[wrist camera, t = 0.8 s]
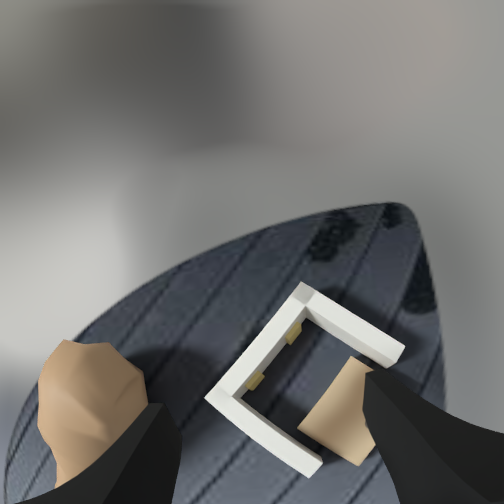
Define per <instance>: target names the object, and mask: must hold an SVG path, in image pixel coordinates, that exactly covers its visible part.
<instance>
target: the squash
mask: <svg viewBox="0 0 504 504" xmlns="http://www.w3.org/2000/svg"><path fill="white" fill-rule="evenodd" d="M38 384H39V411H38V428H39V430H40V432H41V434H42V436H43V439H44V440H45V442H46V443H47V444H48V445H49V446H50V447H51V450H52V452H53V455H54V457H55V459H56V462H57V483H56V484H55V488H57V487H59V486H61V485H62V484H64V483H66V482H67V481H69V480H70V479H72V478H74V477H75V476H77V475H78V474H79V473H81V472H82V471H83V470H85V469H86V468H87V467H89V466H90V465H91V464H92V463H93V462H95V461H96V460H97V459H98V458H99V457H100V456H101V455H102V454H103V453H104V452H105V451H106V450H107V449H108V448H109V447H110V446H111V445H112V444H113V443H114V442H115V441H116V440H117V439H118V438H119V437H120V436H121V435H122V434H123V433H124V432H125V430H126V429H127V428H128V427H129V426H130V425H131V424H132V422H133V421H134V420H135V419H136V418H137V417H138V416H139V414H140V413H141V412H142V411H143V410H144V409H145V407H146V406H147V405H148V399H147V394H146V388H145V381H144V375H143V371H142V370H140V369H139V368H137V367H136V366H135V365H133V364H132V363H130V362H129V361H128V360H126V359H125V358H124V357H123V356H122V355H121V354H120V353H119V352H118V351H117V350H116V349H115V348H114V347H113V346H112V345H111V344H110V343H109V342H107V343H96V344H81V343H76V342H72V341H68V340H63V341H62V342H61V343H60V344H59V346H58V347H57V348H56V349H55V350H54V352H53V353H52V354H51V355H50V357H49V358H48V359H47V360H46V362H45V364H44V367H43V369H42V372H41V375H40V378H39V380H38Z"/></svg>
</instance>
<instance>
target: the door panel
mask: <svg viewBox="0 0 504 504" xmlns="http://www.w3.org/2000/svg"><path fill="white" fill-rule="evenodd" d="M370 371H373V369H371V368H370V367H368V366H366V365H365V364H363V363H361V362H360V361H358V360H357V359H355V358H353V357H352V356H351V357H350V358H349V360H348V361H347V362H346V364H345V365H344V367H343V368H342V370H341V371H340V373H339V374H338V375H337V377H336V378H335V380H334V381H333V382H332V384H331V385H330V386H329V388H328V389H327V391H326V392H325V393H324V394H323V396H322V397H321V398H320V400H319V401H318V402H317V404H316V405H315V406H314V407H313V409H312V410H311V411H310V412H309V414H308V415H307V416H306V417H305V419H304V420H303V421H302V422H301V423H300V425H299V426H298V427H297V429H299V430H300V431H302V432H303V433H305V434H306V435H308V436H309V437H311V438H312V439H314V440H316V441H317V442H319V443H320V444H322V445H323V446H325V447H327V448H328V449H330V450H331V451H333V452H335V453H336V454H338V455H340V456H341V457H343V458H345V459H346V460H348V461H350V462H352V463H353V464H355V465H357V466H359V465H360V464H361V463H362V461H363V460H364V459H365V458H366V456H367V455H368V454H369V453H370V451H371V450H372V449H373V447H374V446H375V445H376V444H375V442H374V440H373V438H372V436H371V434H370V432H369V429H368V426H367V423H366V420H365V417H364V414H363V411H362V407H363V397H364V385H365V373H366V372H370Z"/></svg>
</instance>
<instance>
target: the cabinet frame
mask: <svg viewBox="0 0 504 504" xmlns="http://www.w3.org/2000/svg"><path fill="white" fill-rule="evenodd" d="M305 318H308V319H309V320H311V321H312V322H314V323H315V324H317V325H318V326H320V327H321V328H323V329H324V330H326V331H327V332H329V333H331V334H332V335H334V336H335V337H337V338H338V339H340V340H341V341H343V342H345V343H346V344H348V345H349V346H351V347H352V348H354V349H355V350H357V351H359V352H360V353H362V354H363V355H365V356H366V357H368V358H370V359H371V360H373V361H374V362H376V363H378V364H379V365H381V366H382V367H384V368H388V367H390V366H391V365H393V364H395V363H396V362H397V360H398V359H399V357H400V355H401V353H402V351H403V350H404V348H405V345H403V344H401V343H400V342H398V341H396V340H395V339H393V338H392V337H390V336H388V335H387V334H385V333H384V332H382V331H380V330H379V329H377V328H376V327H374V326H372V325H371V324H369V323H367V322H366V321H364V320H363V319H361V318H359V317H358V316H356V315H355V314H353V313H351V312H350V311H348V310H347V309H345V308H343V307H342V306H340V305H338V304H337V303H335V302H334V301H332V300H330V299H329V298H327V297H326V296H324V295H322V294H321V293H319V292H317V291H316V290H314V289H313V288H311V287H309V286H308V285H306V284H305V283H303V282H300V284H299V285H298V286H297V288H296V289H295V290H294V291H293V293H292V294H291V295H290V296H289V298H288V299H287V300H286V302H285V303H284V304H283V305H282V307H281V308H280V309H279V310H278V312H277V313H276V314H275V315H274V317H273V318H272V319H271V320H270V322H269V323H268V324H267V325H266V326H265V328H264V329H263V330H262V331H261V333H260V334H259V335H258V336H257V337H256V339H255V340H254V341H253V342H252V343H251V345H250V346H249V347H248V348H247V349H246V351H245V352H244V353H243V354H242V355H241V356H240V358H239V359H238V360H237V361H236V362H235V363H234V365H233V366H232V367H231V368H230V369H229V370H228V372H227V373H226V374H225V375H224V376H223V377H222V378H221V380H220V381H219V382H218V383H217V384H216V385H215V386H214V387H213V389H212V390H211V391H210V392H209V393H208V394H207V395H206V396H205V397H204V398H205V399H206V400H207V401H208V402H209V403H210V404H211V405H213V406H214V407H215V408H216V409H217V410H218V411H219V412H221V413H222V414H223V415H224V416H225V417H226V418H228V419H229V420H230V421H231V422H232V423H234V424H235V425H236V426H237V427H239V428H240V429H241V430H242V431H244V432H245V433H246V434H247V435H249V436H250V437H251V438H252V439H254V440H255V441H256V442H258V443H259V444H260V445H262V446H263V447H264V448H266V449H267V450H268V451H270V452H271V453H273V454H274V455H275V456H277V457H278V458H280V459H281V460H282V461H284V462H285V463H287V464H288V465H290V466H291V467H293V468H294V469H296V470H297V471H299V472H300V473H302V474H303V475H305V476H307V477H308V478H310V477H311V476H312V475H313V474H314V472H315V471H316V470H317V469H318V468H319V467H320V466H321V465H322V464H323V461H322V458H321V456H320V455H318V454H316V453H315V452H313V451H312V450H310V449H309V448H307V447H306V446H304V445H303V444H301V443H300V442H298V441H297V440H295V439H294V438H293V437H291V436H290V435H288V434H287V433H285V432H284V431H283V430H281V429H280V428H278V427H277V426H276V425H274V424H273V423H272V422H270V421H269V420H268V419H266V418H265V417H264V416H262V415H261V414H260V413H258V412H257V411H256V410H255V409H253V408H252V407H251V406H249V405H248V404H247V403H246V402H244V401H243V400H242V399H241V397H242V396H243V395H244V394H245V392H246V391H247V390H248V389H250V390H254V389H255V388H256V387H257V386H258V384H259V383H260V382H261V381H262V380H263V379H264V377H265V376H264V375H263V374H262V373H263V371H264V370H265V369H266V368H267V367H268V365H269V364H270V363H271V362H272V361H273V359H274V358H275V357H276V356H277V354H278V353H279V352H280V351H281V349H282V348H283V347H284V346H285V344H286V343H288V344H289V345H291V344H292V343H293V341H294V340H295V339H296V338H297V336H298V335H299V334H300V332H301V331H302V329H301V324H302V322H303V321H304V320H305Z"/></svg>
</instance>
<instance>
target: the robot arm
mask: <svg viewBox="0 0 504 504" xmlns="http://www.w3.org/2000/svg"><path fill="white" fill-rule="evenodd" d="M362 411H363V414H364V417H365V420H366V423H367V426H368V429H369V432H370V434H371V436H372V438H373V440H374V442H375V444H376V446H377V448H378V450H379V453H380V455H381V457H382V459H383V461H384V463H385V465H386V467H387V469H388V471H389V473H390V475H391V478H392V480H393V483H394V485H395V489H396V492H397V495H398V498H399V501H400V504H504V434H503V433H499V432H495V431H492V430H488V429H485V428H482V427H479V426H476V425H473V424H470V423H468V422H466V421H463V420H461V419H459V418H457V417H454V416H452V415H450V414H448V413H447V412H445V411H443V410H441V409H439V408H438V407H436V406H434V405H433V404H431V403H429V402H428V401H426V400H425V399H423V398H422V397H420V396H419V395H417V394H416V393H414V392H413V391H411V390H410V389H409V388H407V387H406V386H404V385H403V384H402V383H400V382H399V381H398V380H396V379H395V378H394V377H392V376H391V375H390V374H388V373H387V372H386V371H384V370H383V369H382V368H380V369H376V370H373V371H370V372H366V373H365V385H364V397H363V407H362ZM181 447H182V435H181V434H180V432H179V430H178V428H177V426H176V425H175V423H174V421H173V419H172V417H171V415H170V413H169V411H168V410H167V408H166V406H165V404H164V403H149V404H148V405H147V406H146V407H145V409H144V410H143V411H142V412H141V413H140V414H139V416H138V417H137V418H136V419H135V420H134V421H133V422H132V424H131V425H130V426H129V427H128V428H127V429H126V430H125V432H124V433H123V434H122V435H121V436H120V437H119V438H118V439H117V440H116V441H115V442H114V443H113V444H112V445H111V446H110V447H109V448H108V449H107V450H106V451H105V452H104V453H103V454H102V455H101V456H100V457H99V458H98V459H97V460H96V461H95V462H93V463H92V464H91V465H90V466H89V467H87V468H86V469H85V470H83V471H82V472H81V473H79V474H78V475H77V476H75V477H74V478H72V479H70V480H69V481H67V482H66V483H64V484H62V485H61V486H59V487H57V488H55V489H53V490H51V491H49V492H47V493H45V494H42V495H40V496H38V497H35V498H32V499H29V500H26V501H22V502H19V503H15V504H171V503H172V498H173V493H174V489H175V484H176V479H177V474H178V469H179V465H180V459H181Z"/></svg>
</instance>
